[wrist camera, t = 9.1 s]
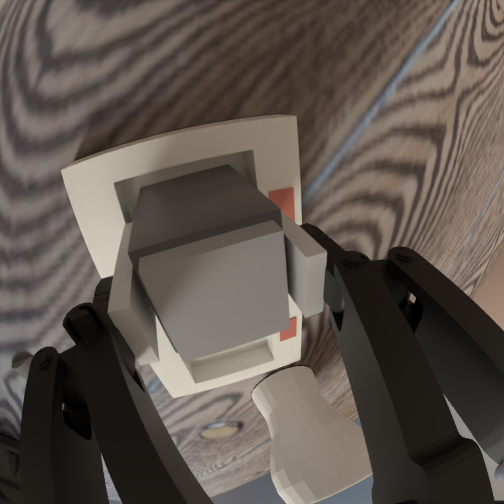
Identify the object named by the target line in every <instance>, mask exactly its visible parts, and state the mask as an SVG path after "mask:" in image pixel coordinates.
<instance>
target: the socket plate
mask: <svg viewBox="0 0 504 504" xmlns="http://www.w3.org/2000/svg"><path fill="white" fill-rule="evenodd" d="M227 164H228V165H230V166H231V167H232V168H233V169H234V170H236V171H237V172H238V173H239V174H240V175H242V176H243V177H244V178H245V179H246V180H248V181H249V182H250V183H251V184H252V185H253V186H255V187H256V188H257V189H258V190H259V191H260V192H262V193H263V194H264V195H265V196H266V197H267V198H269V199H270V200H271V201H272V202H273V203H274V204H275V205H277V206H278V207H279V208H280V209H281V210H282V211H283V212H284V213H285V214H286V215H288V216H289V217H290V218H291V219H292V220H293V221H294V222H295V223H296V224H298V225H302V210H301V183H300V163H299V146H298V131H297V118H296V116H292V115H282V114H276V115H266V116H257V117H249V118H241V119H234V120H228V121H221V122H216V123H210V124H204V125H199V126H194V127H189V128H184V129H180V130H175V131H171V132H167V133H163V134H159V135H155V136H151V137H147V138H143V139H140V140H136V141H133V142H129V143H126V144H123V145H119V146H116V147H113V148H110V149H107V150H104V151H101V152H98V153H95V154H92V155H89V156H87V157H84V158H81V159H79V160H76V161H73V162H72V163H70V164H69V165H67V166H66V167H65V168H63V169H62V170H61V173H62V176H63V180H64V183H65V186H66V190H67V193H68V196H69V199H70V202H71V205H72V208H73V211H74V213H75V216H76V219H77V222H78V224H79V227H80V230H81V232H82V235H83V237H84V240H85V242H86V245H87V247H88V249H89V252H90V254H91V256H92V259H93V261H94V263H95V265H96V268H97V270H98V272H99V274H100V276H101V278H106V277H109V276H113V275H114V270H115V265H116V260H117V255H118V251H119V246H120V242H121V238H122V234H123V229H124V225H125V224H128V223H131V222H133V219H134V214H135V209H136V205H137V200H138V196H139V191H140V188H142V187H145V186H148V185H151V184H155V183H158V182H161V181H165V180H168V179H172V178H176V177H179V176H183V175H187V174H190V173H194V172H198V171H202V170H206V169H210V168H214V167H219V166H223V165H227ZM288 300H289V316H290V328H289V329H286V330H283V331H281V332H278V333H275V334H272V335H269V336H267V337H264V338H261V339H258V340H255V341H252V342H249V343H246V344H243V345H240V346H237V347H234V348H231V349H227V350H224V351H221V352H218V353H214V354H211V355H208V356H204V357H201V358H197V359H194V360H190V361H186V362H183V361H182V359H181V357H180V355H179V353H176V352H175V350H174V349H173V347H172V345H171V343H170V341H169V339H168V338H167V336H166V334H165V332H164V330H163V328H162V326H161V324H160V322H159V320H158V318H157V316H156V328H157V340H158V351H159V360H160V361H159V362H155V363H150V365H151V367H152V368H153V370H154V371H155V373H156V374H157V376H158V377H159V379H160V380H161V382H162V383H163V384H164V386H165V387H166V389H167V390H168V391H169V393H170V394H171V396H172V397H173V398H176V397H181V396H185V395H189V394H193V393H197V392H201V391H205V390H209V389H213V388H216V387H220V386H224V385H227V384H230V383H234V382H237V381H240V380H244V379H247V378H250V377H253V376H256V375H259V374H262V373H265V372H268V371H271V370H274V369H277V368H280V367H282V366H285V365H288V364H290V363H293V362H296V361H298V360H300V357H301V331H302V312H301V311H300V309H299V308H298V306H297V305H296V304H295V302H294V301H293V299H292V298H291V296H290V295H289V293H288Z"/></svg>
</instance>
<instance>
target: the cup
mask: <svg viewBox="0 0 504 504" xmlns="http://www.w3.org/2000/svg"><path fill="white" fill-rule="evenodd" d="M252 398H253V400H254V402H255V404H256V405H257V407H258V409H259V410H260V412H261V413H262V415H263V416H264V418H265V419H266V421H267V423H268V427H269V431H270V434H271V438H272V446H271V454H270V466H271V475H272V476H271V477H272V480H273V482H274V485H275V487H276V489H277V492H278V494H279V495H280V496H281V497H282V499H283V500H284V501H285V502H286V503H287V504H313V503H316V502H318V501H320V500H323V499H325V498H327V497H329V496H332V495H334V494H336V493H338V492H340V491H342V490H344V489H346V488H348V487H350V486H352V485H354V484H356V483H358V482H359V481H361V480H363V479H365V478H367V477H368V476H370V475H372V474H373V473H372V468H371V464H370V459H369V455H368V451H367V446H366V442H365V438H364V434H363V430H362V429H361V428H360V427H359V426H358V425H356V424H355V423H354V422H353V421H351V420H350V419H348V418H346V417H344V416H342V415H340V414H339V413H337V412H335V411H334V410H333V409H332V407H331V406H330V405H329V404H328V402H327V401H326V400H325V399H324V398H323V396H322V395H321V392H320V389H319V386H318V383H317V381H316V378H315V376H314V373H313V371H312V370H311V369H310V368H309V367H305V366H296V367H291V368H287V369H284V370H281V371H279V372H276V373H274V374H272V375H270V376H269V377H267V378H266V379H264V380H263V381H262V382H260V383H259V384H258V385H257V386H256V388H255V389H254V390H253V393H252Z"/></svg>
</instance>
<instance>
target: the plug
mask: <svg viewBox="0 0 504 504" xmlns="http://www.w3.org/2000/svg"><path fill="white" fill-rule="evenodd" d="M127 253H128V255H129V258H130V260H131V263H132V265H133V267H134V270H135V272H136V274H137V276H138V279H139V281H140V283H141V285H142V287H143V290H144V292H145V294H146V296H147V298H148V300H149V302H150V304H151V306H152V308H153V310H154V312H155V314H156V316H157V318H158V320H159V322H160V324H161V326H162V328H163V330H164V332H165V334H166V336H167V338H168V339H169V341H170V343H171V345H172V347H173V349H174V350H175V352H176V353H179V355H180V357H181V359H182V361H183V362H186V361H190V360H194V359H197V358H201V357H204V356H208V355H211V354H214V353H218V352H221V351H224V350H227V349H231V348H234V347H237V346H240V345H243V344H246V343H249V342H252V341H255V340H258V339H261V338H264V337H267V336H269V335H272V334H275V333H278V332H281V331H283V330H286V329H289V328H290V316H289V300H288V285H287V271H286V258H285V245H284V233H283V227H282V216H281V209H280V208H279V207H278V206H277V205H275V204H274V203H273V202H272V201H271V200H270V199H269V198H267V197H266V196H265V195H264V194H263V193H262V192H260V191H259V190H258V189H257V188H256V187H255V186H253V185H252V184H251V183H250V182H249V181H248V180H246V179H245V178H244V177H243V176H242V175H240V174H239V173H238V172H237V171H236V170H234V169H233V168H232V167H231V166H230V165H228V164H227V165H223V166H219V167H214V168H210V169H206V170H202V171H198V172H194V173H190V174H187V175H183V176H179V177H176V178H172V179H168V180H165V181H161V182H158V183H155V184H151V185H148V186H145V187H142V188H140V191H139V196H138V200H137V205H136V209H135V214H134V219H133V224H132V229H131V235H130V240H129V246H128V252H127Z"/></svg>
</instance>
